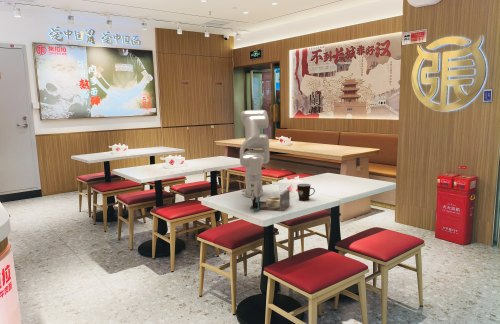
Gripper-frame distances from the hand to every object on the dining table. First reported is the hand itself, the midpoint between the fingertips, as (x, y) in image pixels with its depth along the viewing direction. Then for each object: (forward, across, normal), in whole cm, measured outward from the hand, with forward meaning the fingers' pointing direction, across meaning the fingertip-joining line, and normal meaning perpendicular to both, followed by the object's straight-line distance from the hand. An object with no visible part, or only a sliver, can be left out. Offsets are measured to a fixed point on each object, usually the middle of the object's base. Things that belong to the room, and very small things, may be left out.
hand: (256, 207), depth 225 cm
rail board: (+2, +9, -6) cm, 11 cm away
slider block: (+1, +9, -9) cm, 13 cm away
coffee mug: (+2, +31, -22) cm, 38 cm away
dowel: (+2, 0, 0) cm, 2 cm away
